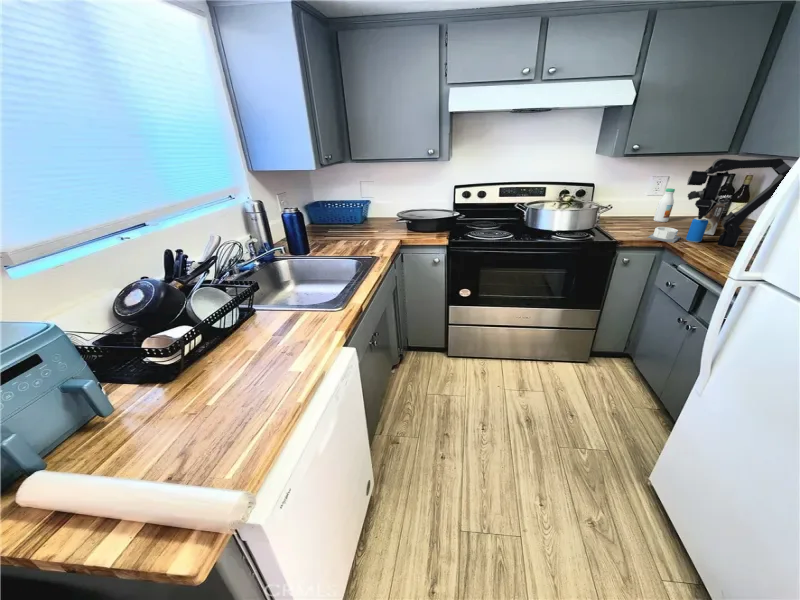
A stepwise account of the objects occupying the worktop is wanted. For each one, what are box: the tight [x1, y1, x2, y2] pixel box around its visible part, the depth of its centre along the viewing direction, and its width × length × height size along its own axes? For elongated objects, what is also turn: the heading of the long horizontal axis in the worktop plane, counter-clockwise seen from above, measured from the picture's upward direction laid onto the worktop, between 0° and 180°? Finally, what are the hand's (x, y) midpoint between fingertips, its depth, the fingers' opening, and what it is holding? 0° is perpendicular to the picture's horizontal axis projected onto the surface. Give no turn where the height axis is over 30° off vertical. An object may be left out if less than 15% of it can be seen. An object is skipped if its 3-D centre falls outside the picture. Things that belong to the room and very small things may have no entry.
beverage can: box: [685, 216, 709, 244], centre depth 175 cm, size 6×6×12 cm
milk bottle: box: [653, 188, 676, 223], centre depth 213 cm, size 8×8×20 cm
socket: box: [647, 226, 681, 244], centre depth 183 cm, size 12×12×5 cm
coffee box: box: [702, 203, 726, 236], centre depth 188 cm, size 9×6×16 cm
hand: (701, 217), depth 173 cm, fingers open, 9 cm apart
